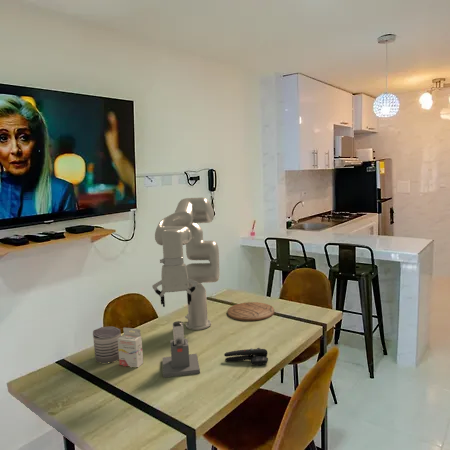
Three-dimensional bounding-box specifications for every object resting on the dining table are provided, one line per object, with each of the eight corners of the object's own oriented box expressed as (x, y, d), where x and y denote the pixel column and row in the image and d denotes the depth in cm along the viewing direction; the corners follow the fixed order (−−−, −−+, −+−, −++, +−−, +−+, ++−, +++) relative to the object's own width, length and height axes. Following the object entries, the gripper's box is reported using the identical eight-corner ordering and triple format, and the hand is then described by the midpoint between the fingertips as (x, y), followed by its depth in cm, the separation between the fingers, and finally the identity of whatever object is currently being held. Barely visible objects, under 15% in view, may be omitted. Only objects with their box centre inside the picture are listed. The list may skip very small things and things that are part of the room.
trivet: (250, 302, 240) (250, 299, 240) (284, 312, 222) (284, 308, 221) (218, 314, 223) (217, 310, 223) (251, 325, 205) (251, 322, 205)
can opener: (269, 358, 169) (268, 345, 168) (267, 366, 162) (267, 353, 162) (226, 357, 172) (225, 344, 172) (223, 365, 165) (222, 351, 165)
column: (174, 361, 167) (172, 321, 164) (185, 360, 167) (182, 320, 165) (175, 366, 163) (172, 325, 160) (186, 364, 163) (183, 324, 161)
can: (108, 350, 184) (105, 324, 182) (128, 354, 179) (126, 327, 177) (89, 361, 174) (86, 334, 172) (110, 366, 169) (107, 337, 167)
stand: (162, 360, 171) (160, 334, 169) (196, 357, 173) (195, 331, 172) (163, 377, 157) (161, 349, 156) (199, 373, 159) (198, 345, 158)
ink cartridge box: (119, 366, 168) (115, 331, 166) (125, 360, 173) (122, 326, 171) (137, 368, 165) (134, 333, 163) (143, 362, 170) (141, 328, 168)
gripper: (150, 265, 154) (153, 309, 156) (197, 261, 157) (199, 305, 159) (150, 261, 162) (153, 303, 164) (195, 257, 164) (197, 299, 166)
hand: (176, 304), depth 161 cm, fingers open, 9 cm apart
